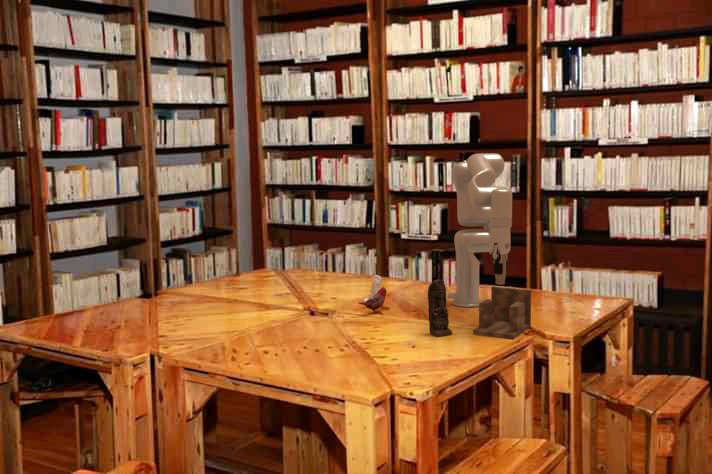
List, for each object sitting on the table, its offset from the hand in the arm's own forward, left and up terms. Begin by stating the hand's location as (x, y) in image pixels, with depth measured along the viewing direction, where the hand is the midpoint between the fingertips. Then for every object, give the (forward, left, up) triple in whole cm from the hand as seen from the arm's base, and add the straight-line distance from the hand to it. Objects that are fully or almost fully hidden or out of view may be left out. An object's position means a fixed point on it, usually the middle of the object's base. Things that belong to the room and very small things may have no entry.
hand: (500, 272), depth 293 cm
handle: (0, 0, -4) cm, 4 cm away
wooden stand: (+1, 0, -22) cm, 22 cm away
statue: (-18, -14, -22) cm, 32 cm away
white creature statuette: (-63, +21, -22) cm, 70 cm away
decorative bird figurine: (-54, +2, -22) cm, 58 cm away
